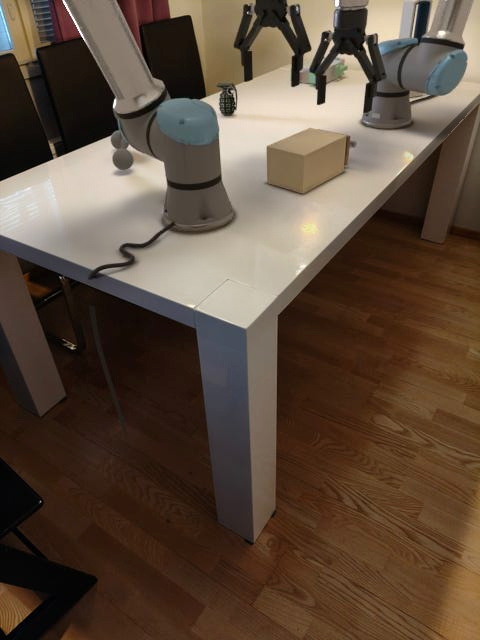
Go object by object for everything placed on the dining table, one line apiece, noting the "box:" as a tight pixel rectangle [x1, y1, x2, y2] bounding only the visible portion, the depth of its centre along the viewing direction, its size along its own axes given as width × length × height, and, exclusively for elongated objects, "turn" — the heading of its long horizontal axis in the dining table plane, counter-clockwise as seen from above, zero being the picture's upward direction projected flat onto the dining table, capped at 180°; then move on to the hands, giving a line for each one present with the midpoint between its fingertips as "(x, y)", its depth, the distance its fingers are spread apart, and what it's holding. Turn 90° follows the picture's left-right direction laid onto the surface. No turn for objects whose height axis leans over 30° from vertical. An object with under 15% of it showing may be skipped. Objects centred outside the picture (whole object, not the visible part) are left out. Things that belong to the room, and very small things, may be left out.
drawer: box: [317, 128, 358, 167], centre depth 123 cm, size 22×10×7 cm, turn 137°
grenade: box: [215, 82, 238, 117], centre depth 166 cm, size 7×6×10 cm
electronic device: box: [398, 0, 433, 98], centre depth 170 cm, size 12×8×30 cm, turn 105°
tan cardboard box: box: [266, 127, 348, 195], centre depth 120 cm, size 17×11×9 cm, turn 137°
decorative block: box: [300, 56, 349, 85], centre depth 205 cm, size 26×6×20 cm
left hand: (271, 83), depth 120 cm, fingers open, 13 cm apart
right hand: (343, 107), depth 122 cm, fingers open, 13 cm apart
